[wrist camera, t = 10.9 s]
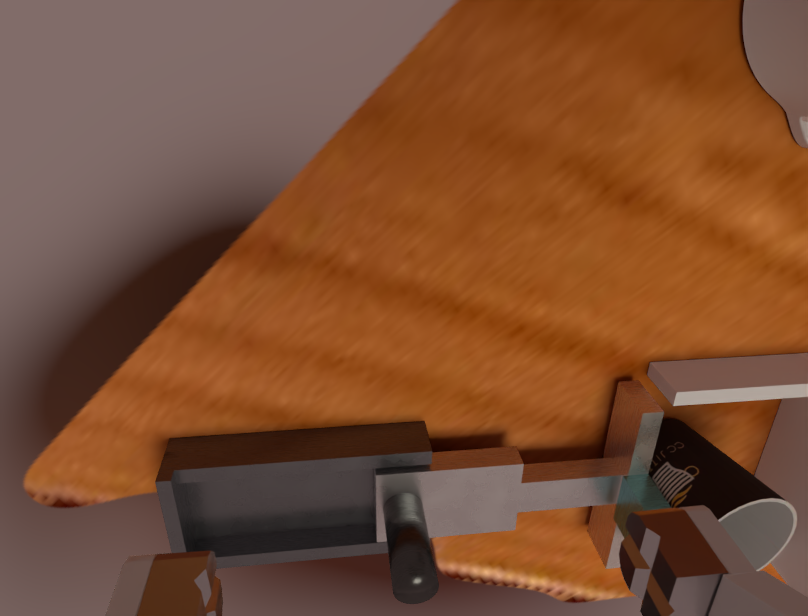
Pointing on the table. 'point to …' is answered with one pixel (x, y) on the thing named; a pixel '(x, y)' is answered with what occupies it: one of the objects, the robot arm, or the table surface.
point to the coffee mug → (721, 492)
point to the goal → (789, 437)
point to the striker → (516, 493)
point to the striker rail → (282, 491)
